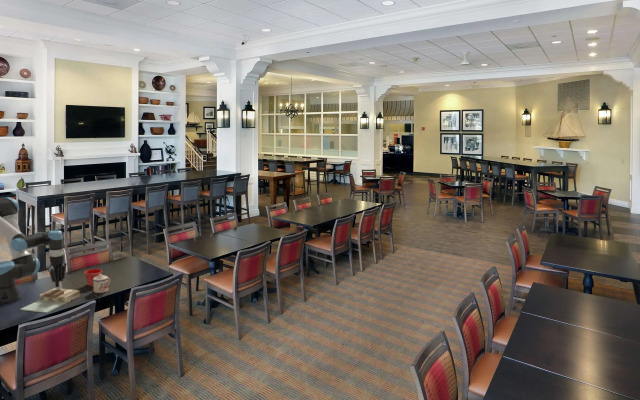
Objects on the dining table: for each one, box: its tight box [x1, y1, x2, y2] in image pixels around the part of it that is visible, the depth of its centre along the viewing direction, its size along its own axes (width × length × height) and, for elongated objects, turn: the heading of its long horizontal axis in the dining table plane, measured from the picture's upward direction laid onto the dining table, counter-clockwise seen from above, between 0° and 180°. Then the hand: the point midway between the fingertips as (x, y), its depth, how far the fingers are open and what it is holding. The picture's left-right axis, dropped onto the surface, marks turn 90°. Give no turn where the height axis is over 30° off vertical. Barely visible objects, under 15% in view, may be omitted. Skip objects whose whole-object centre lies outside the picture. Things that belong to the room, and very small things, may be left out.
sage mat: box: [19, 299, 66, 314], centre depth 248 cm, size 18×14×1 cm
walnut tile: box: [43, 289, 64, 298], centre depth 256 cm, size 8×7×2 cm
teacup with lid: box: [93, 273, 111, 294], centre depth 276 cm, size 12×9×12 cm
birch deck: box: [39, 287, 81, 305], centre depth 260 cm, size 18×12×4 cm, turn 81°
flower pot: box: [84, 268, 103, 287], centre depth 286 cm, size 11×11×10 cm
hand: (59, 291), depth 260 cm, fingers closed
